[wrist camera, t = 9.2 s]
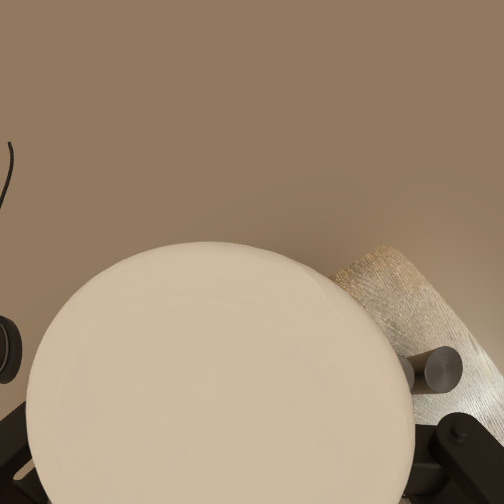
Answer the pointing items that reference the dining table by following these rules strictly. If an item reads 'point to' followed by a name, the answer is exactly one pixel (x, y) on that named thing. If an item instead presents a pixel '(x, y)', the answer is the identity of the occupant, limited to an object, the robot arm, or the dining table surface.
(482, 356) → the dining table surface
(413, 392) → the grey tin
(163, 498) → the sprinkles bottle
